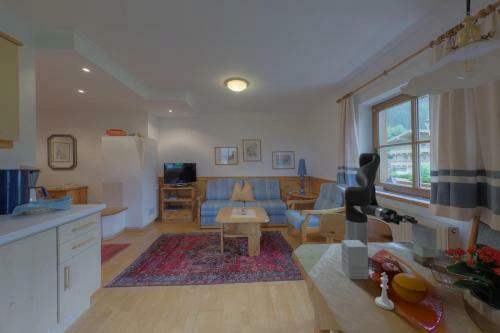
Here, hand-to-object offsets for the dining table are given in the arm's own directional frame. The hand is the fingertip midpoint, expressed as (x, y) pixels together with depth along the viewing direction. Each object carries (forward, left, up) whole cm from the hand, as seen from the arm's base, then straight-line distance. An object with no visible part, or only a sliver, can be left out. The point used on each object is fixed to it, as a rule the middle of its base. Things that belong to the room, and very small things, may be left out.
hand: (407, 222), depth 98 cm
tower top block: (0, -9, -11) cm, 15 cm away
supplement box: (-35, -18, -15) cm, 42 cm away
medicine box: (0, -9, -8) cm, 12 cm away
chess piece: (-34, -35, -15) cm, 51 cm away
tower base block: (0, -9, -15) cm, 18 cm away
